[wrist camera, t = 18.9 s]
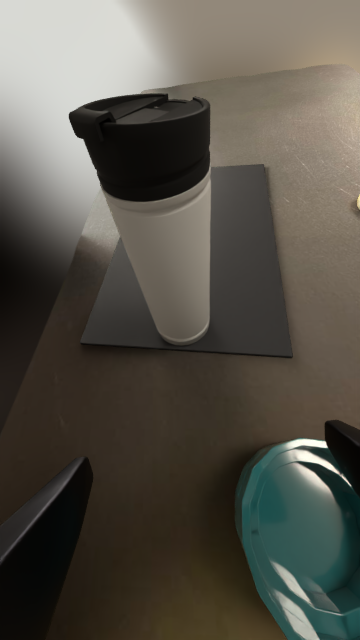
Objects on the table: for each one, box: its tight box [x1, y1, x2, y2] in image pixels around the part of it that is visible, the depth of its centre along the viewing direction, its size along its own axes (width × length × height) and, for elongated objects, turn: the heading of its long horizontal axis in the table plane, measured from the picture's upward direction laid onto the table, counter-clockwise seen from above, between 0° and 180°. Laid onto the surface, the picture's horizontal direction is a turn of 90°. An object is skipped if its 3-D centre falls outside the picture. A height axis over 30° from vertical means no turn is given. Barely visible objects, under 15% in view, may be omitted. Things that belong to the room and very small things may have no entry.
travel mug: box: [69, 93, 211, 346], centre depth 18 cm, size 6×7×20 cm
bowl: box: [235, 438, 360, 640], centre depth 15 cm, size 10×10×5 cm
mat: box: [80, 164, 293, 358], centre depth 35 cm, size 40×24×1 cm, turn 173°
